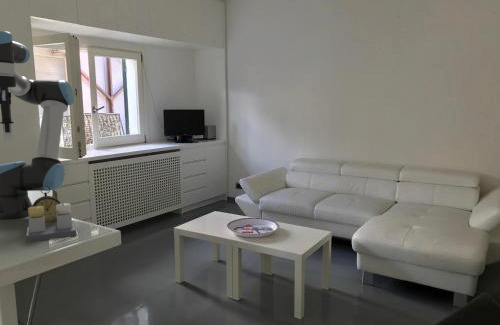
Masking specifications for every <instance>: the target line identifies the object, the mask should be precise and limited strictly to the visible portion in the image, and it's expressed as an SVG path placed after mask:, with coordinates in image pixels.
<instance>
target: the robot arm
mask: <svg viewBox="0 0 500 325" xmlns="http://www.w3.org/2000/svg"><path fill="white" fill-rule="evenodd" d="M30 54H31V52H30V50H29V48H28V47H27V46H26V45H24V44H22V43H20V42H17V41H14V38H13V35H12V32H10V31H6V30H0V110H1V111H0V112H1V121H0V125H1V124H2V129H3V131H2V132H3V142H4V143H7V142H8V143H10V142H11V143H12V142H14V137H13V136H14V135H13V124H14V121H12V120H13V119H12V113H11V112H12V111H11V110H12V109H11V105H12V95H13V96H14V97H16V98H18V99H20V100H21V101H23V102H25V103H28V104H32V105H35V106H37V105H38V106H40V107H41V108H42V116H41V123H40V129H39V130H40V131H39V137H38V143H37V151H36V155H35V156H34V157H32V158H31V163H29V164H27V162H26V161H24V160H21V161H20V160H18V161H12V162H7V163H2V164H1V163H0V219H1V220H6V219H17V218H23V217H29V213H28V208H29V207H32V205H33V203H32V201H31V199H30V197H29V192H36V191H37V192H41V191H42V192H43V191H44V192H49V188H50V191H56V190H58V189H60V187H62V186H63V184H64V180H65V176H66V175H65V173H66V172H65V167H64V165H63V164H62V162H61V160H60V159H59V151H60V144H61V136H62V128H63V121H64V120H63V119H64V114H65V112H67V111H68V109H69V106H72V105H73V104H74V101H75V100H74V92H73V88H72V86H71V84H70V82H68V81H67V80H59V79H56V80H54V79H52V80H51V79H50V80H49V79H47V80H46V79H44V80H43V79H29V78H28V77H26V76H23V75H21V74H20V73H19V72H18V71H16V67H15V65H16V64H25V63H26V62H28V61H29V59H30V57H31V56H30ZM43 186H45V187H43ZM46 186H48V187H49V188H48V187H46ZM42 187H43V188H42ZM41 188H42V189H41Z"/></svg>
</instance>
